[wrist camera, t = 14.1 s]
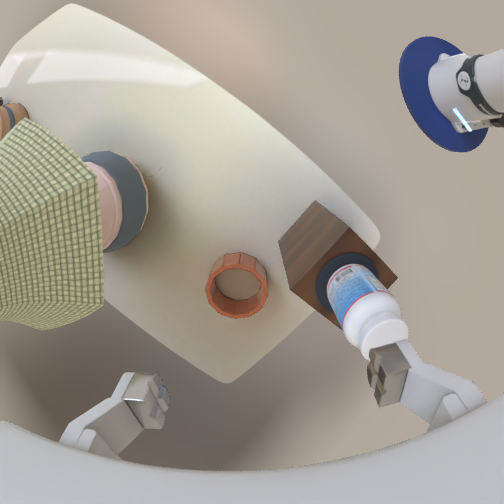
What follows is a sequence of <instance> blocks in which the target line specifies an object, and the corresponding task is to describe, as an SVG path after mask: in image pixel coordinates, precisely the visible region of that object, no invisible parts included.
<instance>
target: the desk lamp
mask: <svg viewBox="0 0 504 504" xmlns="http://www.w3.org/2000/svg"><path fill="white" fill-rule="evenodd" d="M147 213H148V189H147V187H146V184H145V181H144V179H143V176H142V173H141V171H140V170H139V169H138V168H137V167H136V166H135V165H134V164H133V163H132V161H131V160H130V159H129V158H127V157H125V156H122V155H120V154H117V153H115V152H111V151H104V152H94V153H91V154H89V155H87V156H85V157H82V158H80V157H79V156H78V155H77V154H76V153H75V152H74V151H73V150H71V149H70V148H69V147H68V146H67V145H66V144H65V143H63V142H62V141H61V140H60V139H59V138H58V137H56V136H55V135H54V134H52V133H51V132H50V131H48V130H47V129H46V128H44V127H43V126H42V125H39V124H37V123H35V122H33V121H31V120H29V119H27V118H25V117H24V118H23V119H22V120H21V121H20V122H19V123H18V124H16V125H15V126H14V127H13V128H12V129H11V130H10V131H9V132H8V133H7V134H6V136H5V137H4V138H3V139H2V140H1V141H0V320H8V321H13V322H18V323H22V324H25V325H28V326H31V327H34V328H37V329H40V330H46V329H51V328H56V327H59V326H62V325H66V324H68V323H71V322H74V321H76V320H78V319H81V318H83V317H85V316H88V315H89V314H91V313H92V312H94V311H95V310H97V309H98V308H100V307H101V306H103V305H104V302H103V295H104V267H103V253H106V252H110V251H114V250H116V249H118V248H121V247H123V246H126V245H128V244H129V243H130V242H131V241H132V240H133V239H134V237H135V236H136V235H137V234H138V233H139V232H140V231H141V230H142V228H143V225H144V222H145V219H146V216H147Z"/></svg>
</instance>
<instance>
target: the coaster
mask: <svg viewBox="0 0 504 504" xmlns="http://www.w3.org/2000/svg"><path fill="white" fill-rule="evenodd" d="M349 264H359V265H362V266H364V267H366V268H367V269H368V270H370V271H371V272H372V274H373V275H374V276H375V277H376V278H377V279H378V280H379V274H378V271H377V268H376V266H375V265H374V263H373V262H372V261H371V260H370V259H369V258H367V257H366V256H364V255H361V254H358V253H345V254H342V255H339V256H336V257H335V258H333V259H331V260H330V261H329V262H328V263H327V264H326V265H325V266H324V267H323V268H322V270H321V271H320V273H319V275H318V278H317V281H316V294H317V297H318V300H319V302H320V304H321V305H322V306H323V307H324V308H325V309H326V310H328V311H329V312H331V313H334V311H333V309H332V307H331V304H330V302H329V300H328V297H327V285H328V282H329V279H330V278H331V276H332V275H333V274H334V272H335V271H337V270H338V269H339V268H341V267H343V266H345V265H349ZM334 314H335V313H334Z"/></svg>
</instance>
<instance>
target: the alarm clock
mask: <svg viewBox="0 0 504 504" xmlns="http://www.w3.org/2000/svg"><path fill="white" fill-rule="evenodd" d="M2 105H3V99H2V97H0V141H1V140H2V139H3V138H4V137H5V136H6V134H7V133H8V132H9V131H10V130H11V129H12V128H13V127H14V126H15V125H16V124H18V123H19V122H20V121H21V120H22V119H23V118H24V117H25V118H27V119H29V118H28V114H27V111H26V110H25V108H24V107H23V106H22V105H20V104H15V103H8V104H5V105H3V106H2Z"/></svg>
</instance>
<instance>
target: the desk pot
mask: <svg viewBox="0 0 504 504" xmlns="http://www.w3.org/2000/svg"><path fill="white" fill-rule="evenodd" d="M233 268H241V269H244V270H247V271H250V272H252V273H253V274H254V275H255V276H256V277H257V278H258V280H259V281H260V282H261V284H262V285H261V287H260V289H259V292H258V293H257V294H255V295H254V296H252V297H251V298H250V299H246V300H238V301H236V300H233V299H230V298H227V297H225V296H224V295H223V294H222V293H221V292H220V291H219V290H218V289H217V287H216V283H215V279H214V277H216V276H217V275H218V274H220V273H221V272H222V271H223V270H226V269H233ZM205 290H206V294H207V298H208V302H209V304H210V305H211V306H212V307H213V308H214V309H215V310H216V311H217V312H218V313H220V314H222V315H224V316H227V317H230V318H235V319H237V318H245V317H249V316H252V315H253V314H255V313H256V312H258V311H259V310H260V309H261V308H262V307H263V305H264V303H265V301H266V299H267V297H268V289H267V279H266V273H265V268H264V267H263V266H262V265H261V264H260V262H259V261H258V260H257V259H256V258H255V257H252V256H249V255H247V254H244V253H233V254H227V255H225V256H223V257H222V258H221V259H219V260H218V261H217V262H216V263H215V264H214V266H213V268H212V271H211V274H210V276H209V279H208V282H207V285H206V289H205Z"/></svg>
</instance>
